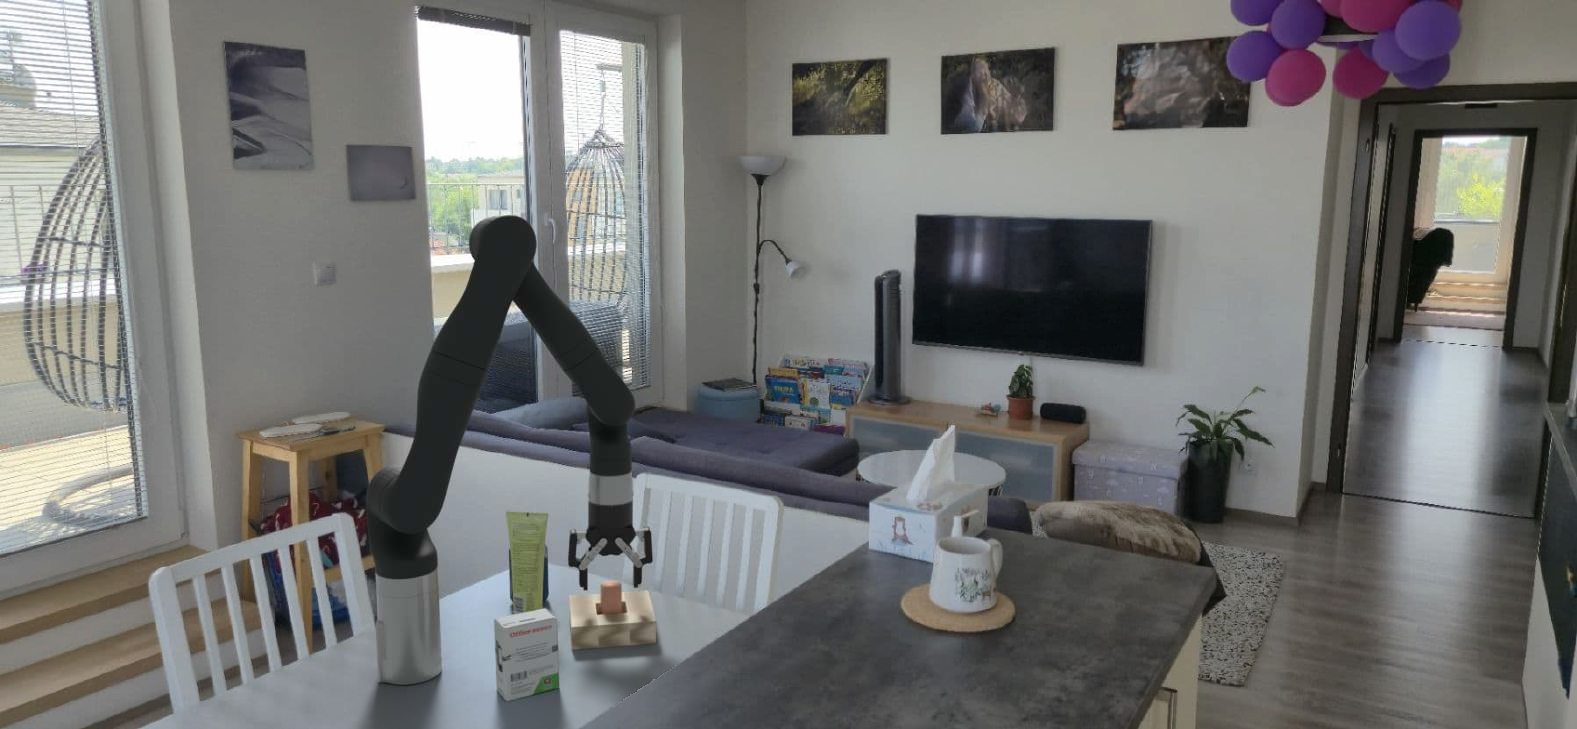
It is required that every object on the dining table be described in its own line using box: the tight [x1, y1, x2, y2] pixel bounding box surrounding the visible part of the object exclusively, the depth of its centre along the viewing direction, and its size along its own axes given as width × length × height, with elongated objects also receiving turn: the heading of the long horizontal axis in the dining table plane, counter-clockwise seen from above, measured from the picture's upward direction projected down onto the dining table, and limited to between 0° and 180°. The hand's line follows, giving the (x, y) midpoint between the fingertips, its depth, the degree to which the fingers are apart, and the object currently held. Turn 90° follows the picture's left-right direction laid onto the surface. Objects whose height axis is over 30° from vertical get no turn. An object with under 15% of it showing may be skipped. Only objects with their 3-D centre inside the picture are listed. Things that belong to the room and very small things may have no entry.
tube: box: [505, 510, 549, 615], centre depth 196 cm, size 6×5×20 cm
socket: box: [568, 590, 657, 651], centre depth 193 cm, size 14×14×4 cm
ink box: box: [493, 607, 561, 702], centre depth 170 cm, size 9×5×12 cm, turn 123°
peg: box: [599, 580, 623, 615], centre depth 192 cm, size 4×4×8 cm
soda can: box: [508, 543, 550, 605], centre depth 204 cm, size 7×7×12 cm
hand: (610, 587), depth 191 cm, fingers open, 8 cm apart
